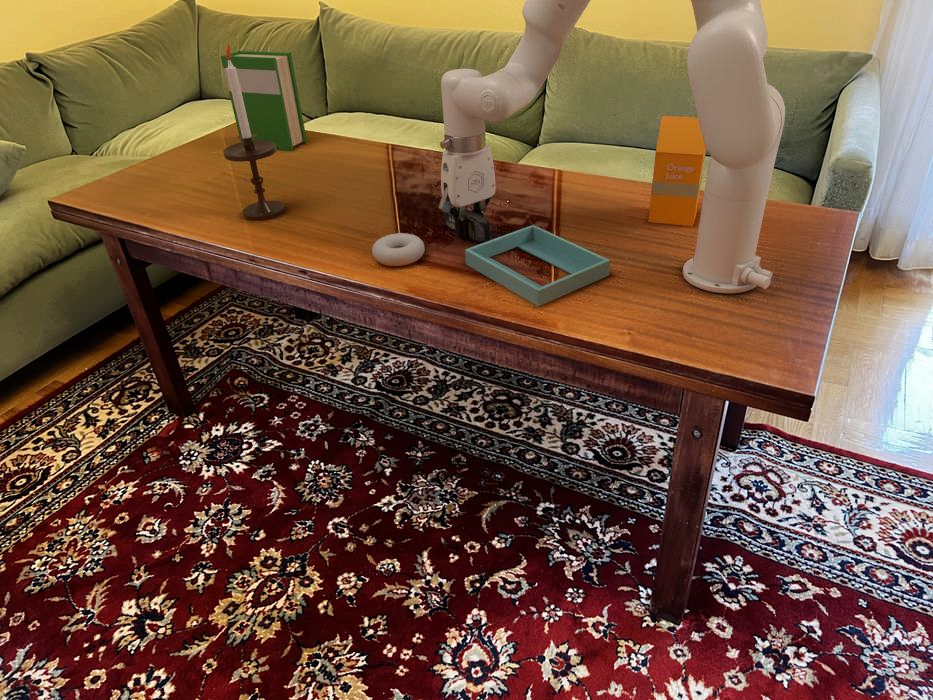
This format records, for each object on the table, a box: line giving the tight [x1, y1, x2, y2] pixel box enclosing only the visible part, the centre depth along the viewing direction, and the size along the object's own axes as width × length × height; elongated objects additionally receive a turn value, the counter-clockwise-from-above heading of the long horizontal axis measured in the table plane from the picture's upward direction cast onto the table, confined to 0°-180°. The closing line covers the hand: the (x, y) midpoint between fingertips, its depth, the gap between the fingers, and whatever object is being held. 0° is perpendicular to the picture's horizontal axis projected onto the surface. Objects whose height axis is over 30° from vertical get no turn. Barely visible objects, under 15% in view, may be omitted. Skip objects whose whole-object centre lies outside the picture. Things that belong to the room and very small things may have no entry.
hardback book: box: [220, 50, 308, 152], centre depth 187 cm, size 18×7×24 cm, turn 65°
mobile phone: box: [443, 203, 493, 243], centre depth 134 cm, size 5×3×15 cm
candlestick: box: [222, 43, 286, 221], centre depth 141 cm, size 11×11×35 cm
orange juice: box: [647, 115, 707, 227], centre depth 132 cm, size 8×9×20 cm
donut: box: [371, 232, 426, 267], centre depth 128 cm, size 10×3×10 cm
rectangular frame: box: [464, 224, 611, 307], centre depth 121 cm, size 20×16×3 cm
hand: (469, 232), depth 135 cm, fingers open, 3 cm apart
